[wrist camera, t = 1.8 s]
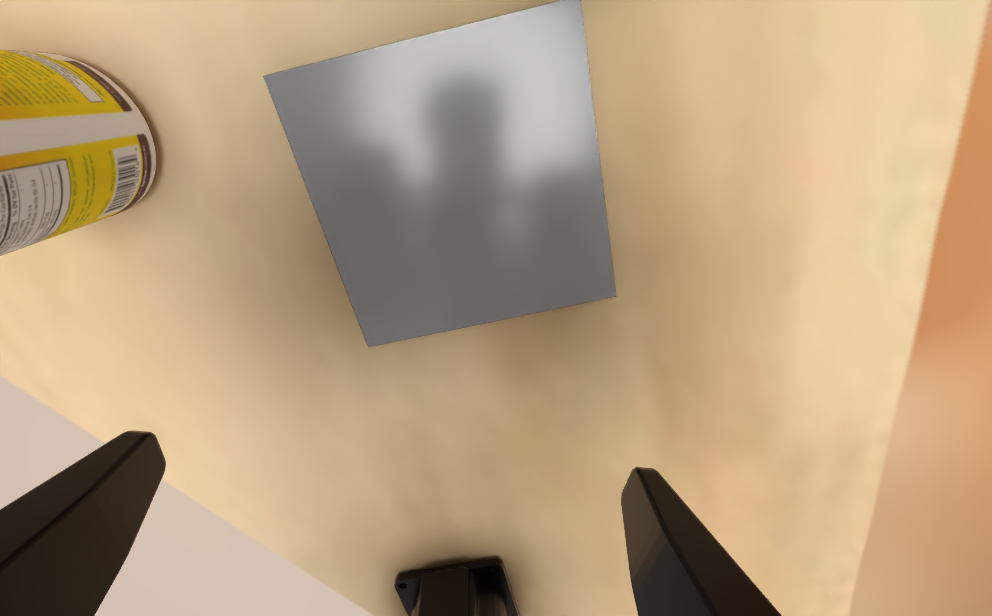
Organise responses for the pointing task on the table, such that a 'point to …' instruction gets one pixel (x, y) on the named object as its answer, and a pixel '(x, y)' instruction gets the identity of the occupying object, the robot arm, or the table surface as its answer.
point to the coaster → (456, 172)
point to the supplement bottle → (65, 148)
